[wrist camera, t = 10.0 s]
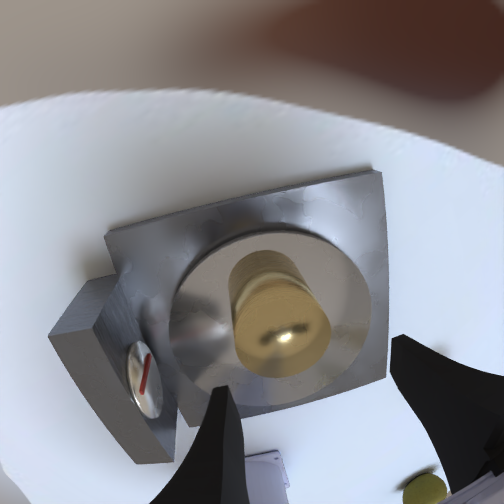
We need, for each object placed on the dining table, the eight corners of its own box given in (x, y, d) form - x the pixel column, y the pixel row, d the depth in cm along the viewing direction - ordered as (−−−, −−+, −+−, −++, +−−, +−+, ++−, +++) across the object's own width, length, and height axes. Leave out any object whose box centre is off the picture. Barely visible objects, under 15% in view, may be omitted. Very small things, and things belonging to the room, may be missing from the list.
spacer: (305, 303, 20) (335, 361, 15) (239, 322, 20) (249, 387, 15) (291, 241, 19) (324, 286, 13) (219, 261, 19) (222, 315, 13)
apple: (397, 482, 38) (412, 513, 31) (438, 460, 38) (456, 489, 31) (395, 496, 41) (408, 524, 34) (433, 477, 41) (447, 503, 34)
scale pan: (367, 371, 25) (371, 377, 24) (204, 413, 24) (204, 420, 23) (360, 208, 20) (365, 211, 19) (140, 260, 19) (138, 265, 18)
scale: (380, 369, 27) (414, 421, 20) (159, 421, 26) (153, 482, 20) (373, 169, 20) (435, 187, 14) (72, 242, 20) (23, 286, 13)
